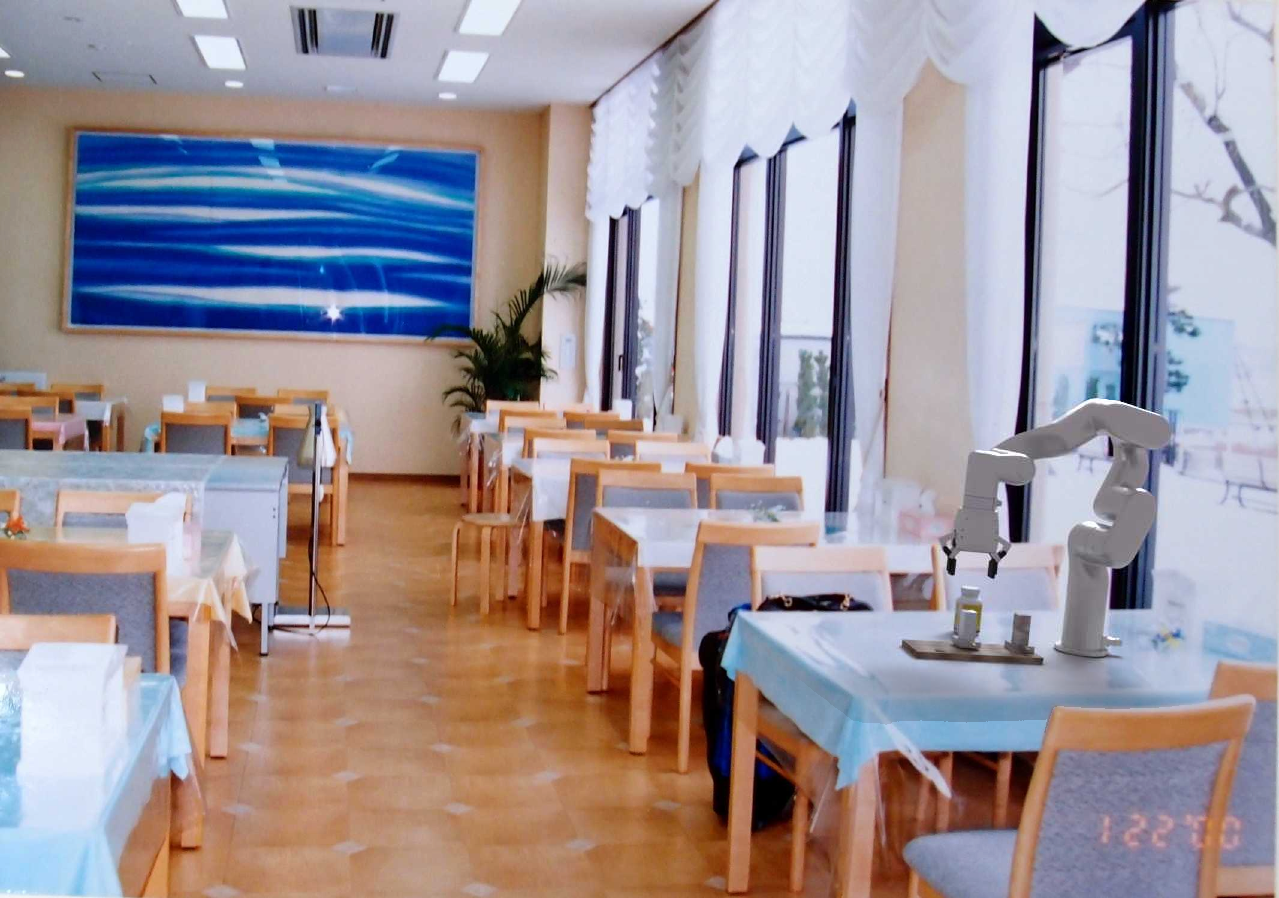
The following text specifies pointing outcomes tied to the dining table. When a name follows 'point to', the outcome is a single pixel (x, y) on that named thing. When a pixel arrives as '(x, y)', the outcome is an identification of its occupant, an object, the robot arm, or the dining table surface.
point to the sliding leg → (967, 630)
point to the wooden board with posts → (983, 647)
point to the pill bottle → (968, 605)
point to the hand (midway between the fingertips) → (970, 576)
